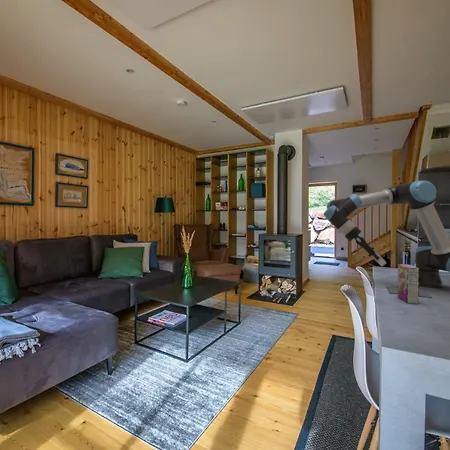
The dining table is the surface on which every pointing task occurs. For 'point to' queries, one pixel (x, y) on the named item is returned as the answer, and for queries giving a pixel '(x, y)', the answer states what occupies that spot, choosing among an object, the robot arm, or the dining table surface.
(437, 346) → the dining table surface
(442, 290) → the dining table surface
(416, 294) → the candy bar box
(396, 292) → the rubber mat
